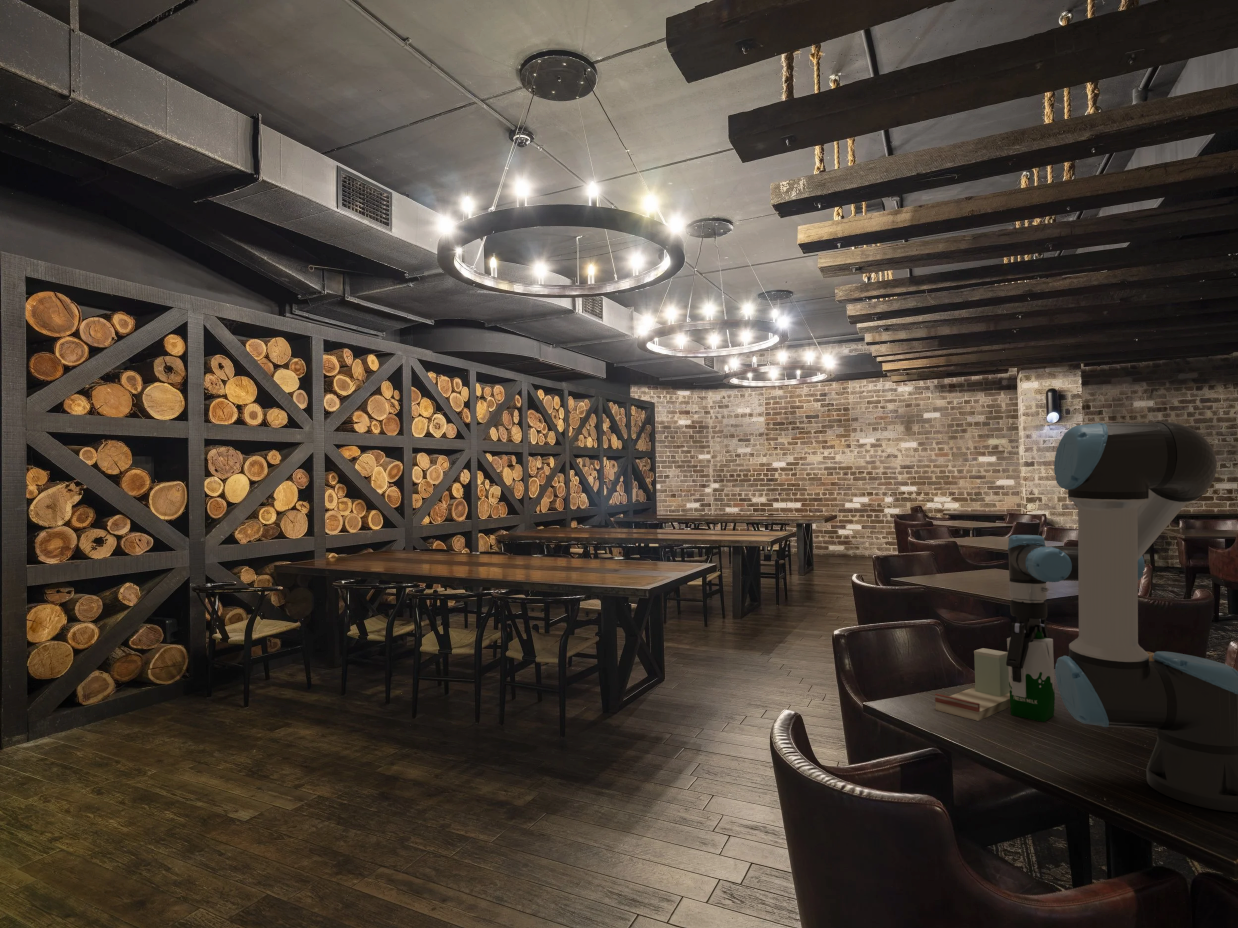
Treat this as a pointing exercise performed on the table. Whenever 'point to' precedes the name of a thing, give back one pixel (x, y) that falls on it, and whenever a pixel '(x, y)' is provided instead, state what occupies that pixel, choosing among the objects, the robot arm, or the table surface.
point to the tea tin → (991, 672)
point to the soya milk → (1036, 682)
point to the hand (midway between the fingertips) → (1031, 690)
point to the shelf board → (971, 704)
